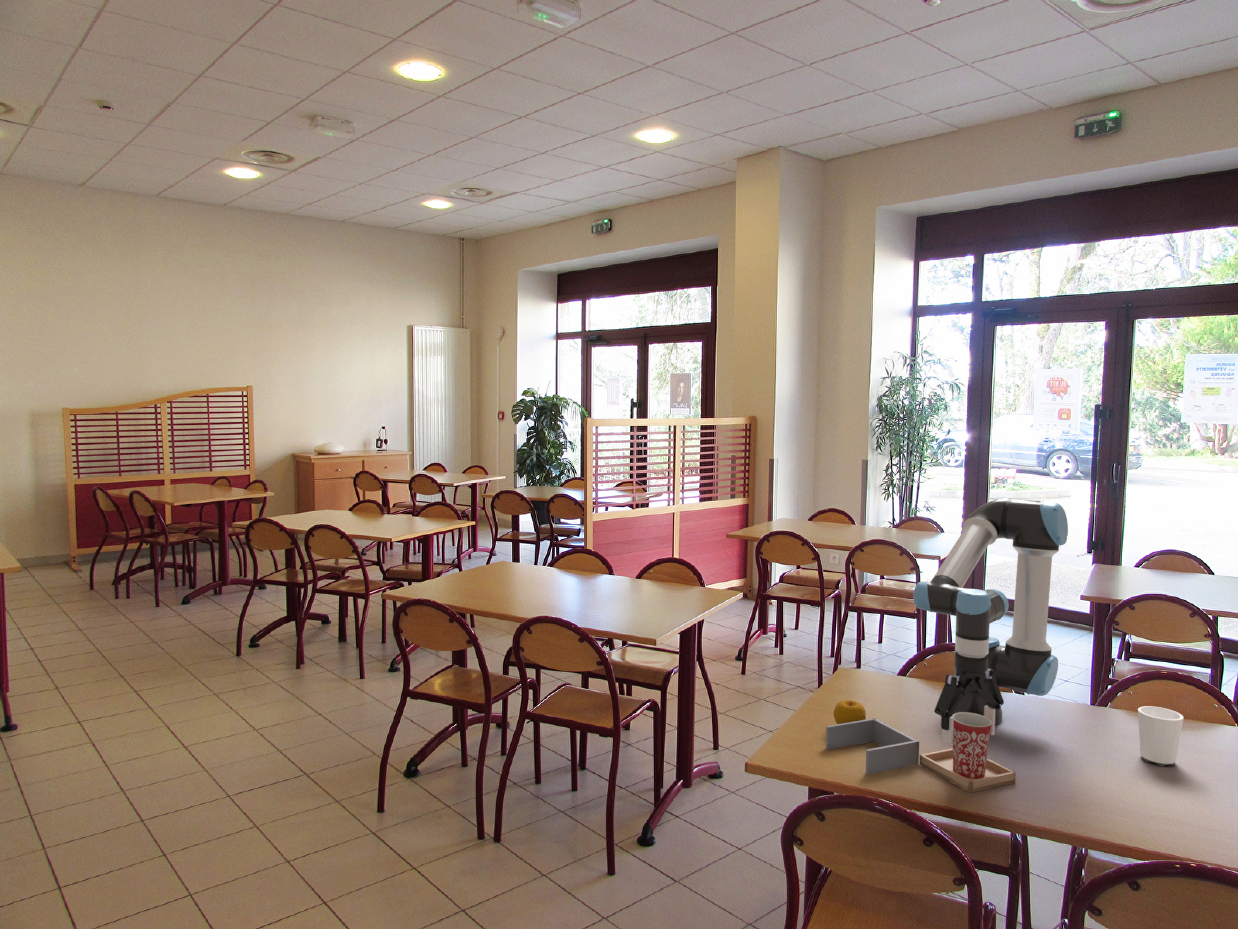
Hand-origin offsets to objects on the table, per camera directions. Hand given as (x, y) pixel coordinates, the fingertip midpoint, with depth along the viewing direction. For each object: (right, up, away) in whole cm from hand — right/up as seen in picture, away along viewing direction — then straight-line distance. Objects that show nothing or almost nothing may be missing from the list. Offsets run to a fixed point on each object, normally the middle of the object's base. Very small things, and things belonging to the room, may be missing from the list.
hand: (968, 737), depth 201 cm
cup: (+53, -9, +9) cm, 54 cm away
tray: (-1, -9, 0) cm, 9 cm away
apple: (-22, -7, +25) cm, 34 cm away
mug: (0, -8, +1) cm, 8 cm away
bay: (-21, -8, +9) cm, 24 cm away
